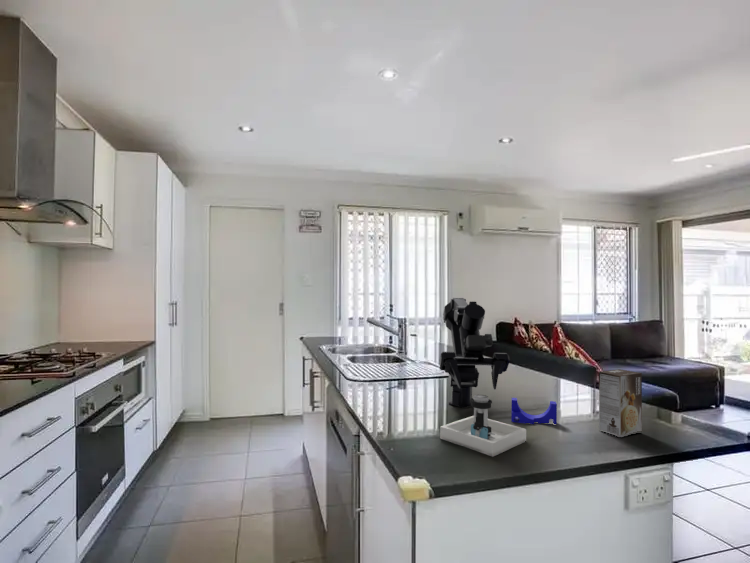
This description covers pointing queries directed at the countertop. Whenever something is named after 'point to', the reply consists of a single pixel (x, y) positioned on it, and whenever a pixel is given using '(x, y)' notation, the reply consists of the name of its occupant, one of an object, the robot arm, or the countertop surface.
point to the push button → (481, 417)
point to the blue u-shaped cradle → (527, 418)
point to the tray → (503, 436)
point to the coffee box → (620, 401)
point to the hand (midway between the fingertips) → (477, 388)
